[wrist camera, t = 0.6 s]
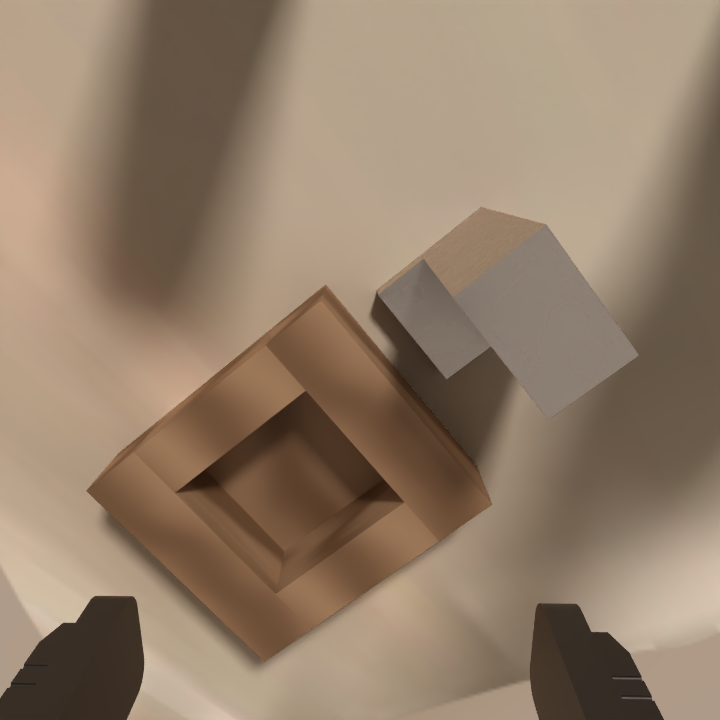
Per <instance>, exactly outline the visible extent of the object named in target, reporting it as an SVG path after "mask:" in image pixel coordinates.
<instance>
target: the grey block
mask: <svg viewBox="0 0 720 720" xmlns="http://www.w3.org/2000/svg"><path fill="white" fill-rule="evenodd" d="M377 291H378V296H379V297H380V298H381V299H382V300H383V302H384V303H385V304H386V305H387V307H388V308H389V309H390V310H391V312H392V313H393V314H394V315H395V316H396V318H397V319H398V320H399V321H400V323H401V324H402V325H403V326H404V328H405V329H406V330H407V331H408V333H409V334H410V335H411V336H412V337H413V339H414V340H415V341H416V342H417V344H418V345H419V346H420V347H421V349H422V350H423V351H424V352H425V353H426V355H427V356H428V357H429V358H430V360H431V361H432V362H433V363H434V365H435V366H436V367H437V368H438V369H439V371H440V372H441V373H442V374H443V376H444V377H445V378H446V379H448V378H449V377H451V376H452V375H453V374H455V373H456V372H457V371H459V370H460V369H461V368H463V367H464V366H465V365H467V364H468V363H469V362H471V361H472V360H473V359H475V358H476V357H477V356H479V355H480V354H481V353H483V352H484V351H485V350H487V349H488V348H490V347H492V348H493V350H494V351H495V352H496V353H497V355H498V356H499V357H500V359H501V360H502V361H503V362H504V364H505V365H506V366H507V368H508V369H509V370H510V371H511V373H512V374H513V375H514V377H515V378H516V379H517V380H518V382H519V383H520V384H521V386H522V387H523V388H524V389H525V391H526V392H527V393H528V395H529V396H530V397H531V398H532V400H533V401H534V402H535V404H536V405H537V406H538V407H539V409H540V410H541V411H542V413H543V414H544V415H545V416H546V418H547V419H550V418H551V417H553V416H554V415H555V414H557V413H558V412H560V411H561V410H562V409H564V408H565V407H567V406H568V405H570V404H571V403H572V402H574V401H575V400H577V399H578V398H579V397H581V396H582V395H584V394H585V393H587V392H588V391H589V390H591V389H592V388H594V387H595V386H596V385H598V384H599V383H601V382H602V381H604V380H605V379H606V378H608V377H609V376H611V375H612V374H613V373H615V372H616V371H618V370H619V369H621V368H622V367H623V366H625V365H626V364H628V363H629V362H630V361H632V360H633V359H635V358H636V357H638V356H639V354H638V353H637V351H636V350H635V349H634V347H633V346H632V344H631V343H630V342H629V340H628V339H627V337H626V336H625V334H624V333H623V332H622V330H621V329H620V327H619V326H618V325H617V323H616V322H615V320H614V319H613V318H612V316H611V315H610V313H609V312H608V311H607V309H606V308H605V306H604V305H603V304H602V302H601V301H600V299H599V298H598V296H597V295H596V294H595V292H594V291H593V289H592V288H591V287H590V285H589V284H588V282H587V281H586V280H585V278H584V277H583V275H582V274H581V273H580V271H579V270H578V268H577V267H576V266H575V264H574V263H573V261H572V260H571V258H570V257H569V256H568V254H567V253H566V251H565V250H564V249H563V247H562V246H561V244H560V243H559V242H558V240H557V239H556V237H555V236H554V235H553V233H552V232H551V230H550V229H549V228H548V226H547V225H546V224H542V223H538V222H535V221H531V220H527V219H523V218H520V217H516V216H512V215H509V214H505V213H501V212H497V211H494V210H490V209H486V208H482V207H481V208H479V209H478V210H477V211H476V212H474V213H473V214H472V215H471V216H469V217H468V218H467V219H466V220H464V221H463V222H462V223H461V224H459V225H458V226H457V227H456V228H454V229H453V230H452V231H451V232H449V233H448V234H447V235H446V236H444V237H443V238H442V239H441V240H439V241H438V242H437V243H436V244H434V245H433V246H432V247H431V248H429V249H428V250H427V251H426V252H424V253H423V254H422V255H421V256H419V257H418V258H417V259H415V260H414V261H413V262H412V263H410V264H409V265H408V266H407V267H405V268H404V269H403V270H402V271H400V272H399V273H398V274H397V275H395V276H394V277H393V278H392V279H390V280H389V281H388V282H387V283H385V284H384V285H383V286H382V287H380V288H379V289H378V290H377Z"/></svg>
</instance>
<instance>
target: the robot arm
mask: <svg viewBox="0 0 720 720" xmlns="http://www.w3.org/2000/svg"><path fill="white" fill-rule="evenodd" d="M143 672H144V653H143V646H142V638H141V630H140V623H139V615H138V607H137V602H136V600H135V598H134V597H132V596H95V597H93V598H92V599H91V600H90V602H89V603H88V605H87V606H86V608H85V609H84V611H83V612H82V614H81V615H80V617H79V618H78V620H77V622H76V623H63V624H61V625H60V626H59V627H58V628H56V629H55V630H54V631H53V632H51V633H50V634H49V635H48V636H46V637H45V638H44V639H43V640H41V641H40V642H39V644H38V645H37V646H36V648H35V649H34V651H33V652H32V654H31V655H30V656H29V658H28V659H27V661H26V662H25V664H24V668H23V669H20V671H19V672H18V674H17V675H16V676H15V678H14V679H13V681H12V682H11V687H10V688H7V689H6V691H5V692H4V694H3V695H2V696H1V698H0V720H127V718H128V715H129V713H130V711H131V709H132V706H133V704H134V702H135V700H136V697H137V695H138V693H139V690H140V687H141V683H142V678H143ZM530 681H531V689H532V695H533V700H534V703H535V707H536V710H537V714H538V717H539V720H664V719H663V717H662V715H661V713H660V711H659V709H658V707H657V706H656V703H655V701H652V696H651V694H650V692H649V690H648V688H647V686H646V684H645V682H644V681H642V679H641V675H640V673H639V671H638V669H637V667H636V665H635V663H634V661H633V659H632V657H631V655H630V653H629V652H628V651H627V650H626V649H625V648H624V647H623V646H622V645H620V644H619V643H618V642H617V641H616V640H615V639H614V638H613V637H612V636H611V635H610V634H609V633H608V632H591V630H590V628H589V626H588V624H587V622H586V620H585V617H584V615H583V613H582V611H581V609H580V607H579V606H578V605H577V604H542V603H539V604H538V605H537V607H536V613H535V622H534V632H533V642H532V652H531V662H530Z"/></svg>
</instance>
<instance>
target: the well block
mask: <svg viewBox="0 0 720 720" xmlns="http://www.w3.org/2000/svg"><path fill="white" fill-rule="evenodd" d="M87 492H88V493H89V494H90V495H91V496H92V497H93V498H94V499H95V500H96V501H97V502H98V503H99V504H100V505H101V506H103V507H104V508H105V509H106V510H107V511H108V512H109V513H110V514H111V515H112V516H113V517H114V518H115V519H116V520H117V521H118V522H119V523H120V524H121V525H122V526H123V527H124V528H125V529H126V530H128V531H129V532H130V533H131V534H132V535H133V536H134V537H135V538H136V539H137V540H138V541H139V542H140V543H141V544H142V545H143V546H144V547H145V548H146V549H147V550H148V551H149V552H150V553H151V554H153V555H154V556H155V557H156V558H157V559H158V560H159V561H160V562H161V563H162V564H163V565H164V566H165V567H166V568H167V569H168V570H169V571H170V572H171V573H172V574H173V575H174V576H175V577H176V578H177V579H179V580H180V581H181V582H182V583H183V584H184V585H185V586H186V587H187V588H188V589H189V590H190V591H191V592H192V593H193V594H194V595H195V596H196V597H197V598H198V599H199V600H200V601H201V602H202V603H204V604H205V605H206V606H207V607H208V608H209V609H210V610H211V611H212V612H213V613H214V614H215V615H216V616H217V617H218V618H219V619H220V620H221V621H222V622H223V623H224V624H225V625H226V626H227V627H229V628H230V629H231V630H232V631H233V632H234V633H235V634H236V635H237V636H238V637H239V638H240V639H241V640H242V641H243V642H244V643H245V644H246V645H247V646H248V647H249V648H250V649H251V650H252V651H253V652H255V653H256V654H257V655H258V656H259V657H260V658H261V659H262V660H263V661H264V662H265V661H266V660H267V659H269V658H270V657H272V656H273V655H275V654H276V653H278V652H279V651H280V650H282V649H283V648H285V647H286V646H288V645H289V644H291V643H292V642H293V641H295V640H296V639H298V638H299V637H301V636H302V635H304V634H305V633H307V632H308V631H309V630H311V629H312V628H314V627H315V626H317V625H318V624H320V623H321V622H322V621H324V620H325V619H327V618H328V617H330V616H331V615H333V614H334V613H336V612H337V611H338V610H340V609H341V608H343V607H344V606H346V605H347V604H349V603H350V602H351V601H353V600H354V599H356V598H357V597H359V596H360V595H362V594H363V593H365V592H366V591H367V590H369V589H370V588H372V587H373V586H375V585H376V584H378V583H379V582H380V581H382V580H383V579H385V578H386V577H388V576H389V575H391V574H392V573H394V572H395V571H396V570H398V569H399V568H401V567H402V566H404V565H405V564H407V563H408V562H409V561H411V560H412V559H414V558H415V557H417V556H418V555H420V554H421V553H423V552H424V551H425V550H427V549H428V548H430V547H431V546H433V545H434V544H436V543H437V542H438V541H440V540H441V539H443V538H444V537H446V536H447V535H449V534H450V533H451V532H453V531H454V530H456V529H457V528H459V527H460V526H462V525H463V524H465V523H466V522H467V521H469V520H470V519H472V518H473V517H475V516H476V515H478V514H479V513H480V512H482V511H483V510H485V509H486V508H488V507H489V506H491V505H492V503H491V500H490V498H489V495H488V493H487V490H486V488H485V486H484V483H483V481H482V478H481V476H480V473H479V471H478V468H477V466H476V465H475V463H474V462H473V461H472V460H471V459H470V457H469V456H468V455H467V454H466V453H465V451H464V450H463V449H462V448H461V447H460V445H459V444H458V443H457V442H456V441H455V439H454V438H453V437H452V436H451V435H450V433H449V432H448V431H447V430H446V429H445V427H444V426H443V425H442V424H441V423H440V421H439V420H438V419H437V418H436V417H435V415H434V414H433V413H432V412H431V411H430V409H429V408H428V407H427V406H426V405H425V403H424V402H423V401H422V400H421V399H420V397H419V396H418V395H417V394H416V393H415V391H414V390H413V389H412V388H411V387H410V385H409V384H408V383H407V382H406V381H405V379H404V378H403V377H402V376H401V375H400V373H399V372H398V371H397V370H396V369H395V367H394V366H393V365H392V364H391V362H390V361H389V360H388V359H387V358H386V356H385V355H384V354H383V353H382V352H381V350H380V349H379V348H378V347H377V346H376V344H375V343H374V342H373V341H372V340H371V338H370V337H369V336H368V335H367V334H366V332H365V331H364V330H363V329H362V328H361V326H360V325H359V324H358V323H357V322H356V320H355V319H354V318H353V317H352V316H351V314H350V313H349V312H348V311H347V310H346V308H345V307H344V306H343V305H342V304H341V302H340V301H339V300H338V299H337V298H336V296H335V295H334V294H333V293H332V292H331V290H330V289H329V288H328V287H327V286H326V285H325V286H324V287H322V288H321V289H320V290H319V291H317V292H316V293H315V294H314V295H313V296H311V297H310V298H309V299H308V300H306V301H305V302H304V303H303V304H301V305H300V306H299V307H298V308H297V309H295V310H294V311H293V312H292V313H290V314H289V315H288V316H287V317H286V318H284V319H283V320H282V321H281V322H279V323H278V324H277V325H276V326H274V327H273V328H272V329H271V330H270V331H268V332H267V333H266V334H265V335H263V336H262V337H261V338H260V339H259V340H257V341H256V342H255V343H254V344H252V345H251V346H250V347H249V348H247V349H246V350H245V351H244V352H243V353H241V354H240V355H239V356H238V357H236V358H235V359H234V360H233V361H232V362H230V363H229V364H228V365H227V366H225V367H224V368H223V369H222V370H220V371H219V372H218V373H217V374H216V375H214V376H213V377H212V378H211V379H209V380H208V381H207V382H206V383H205V384H203V385H202V386H201V387H200V388H198V389H197V390H196V391H195V392H193V393H192V394H191V395H190V396H189V397H187V398H186V399H185V400H184V401H182V402H181V403H180V404H179V405H178V406H176V407H175V408H174V409H173V410H171V411H170V412H169V413H168V414H166V415H165V416H164V417H163V418H162V419H160V420H159V421H158V422H157V423H155V424H154V425H153V426H152V427H151V428H149V429H148V430H147V431H146V432H144V433H143V434H142V435H141V436H139V437H138V438H137V439H136V440H135V441H133V442H132V443H131V444H130V445H128V446H127V447H126V448H125V449H124V450H122V451H121V452H120V453H119V454H118V455H117V456H116V457H115V458H114V459H113V460H112V462H111V463H110V464H109V465H108V466H107V467H106V469H105V470H104V471H103V472H102V473H101V474H100V475H99V477H98V478H97V479H96V480H95V481H94V482H93V484H92V485H91V486H90V487H89V488H88V489H87Z"/></svg>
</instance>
